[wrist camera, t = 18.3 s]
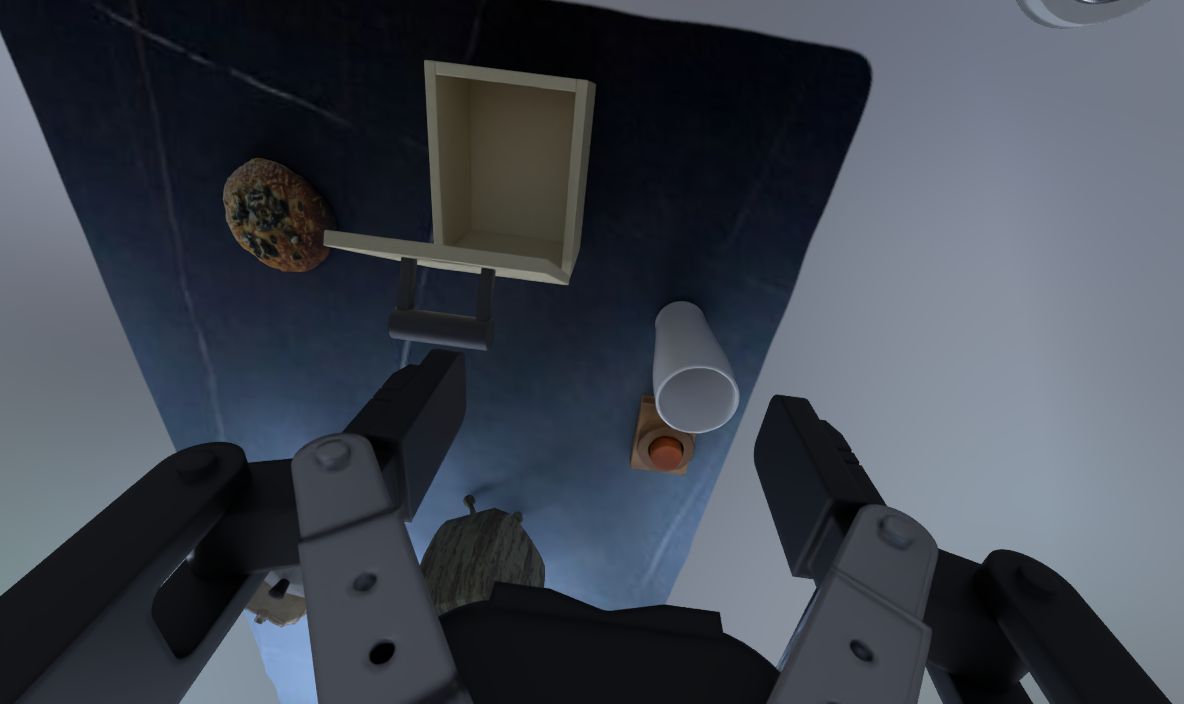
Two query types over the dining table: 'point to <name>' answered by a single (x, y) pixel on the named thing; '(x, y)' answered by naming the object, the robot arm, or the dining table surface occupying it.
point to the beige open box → (508, 160)
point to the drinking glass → (691, 371)
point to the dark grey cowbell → (479, 557)
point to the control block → (652, 429)
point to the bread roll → (277, 215)
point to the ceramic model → (276, 607)
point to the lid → (486, 263)
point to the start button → (666, 453)
